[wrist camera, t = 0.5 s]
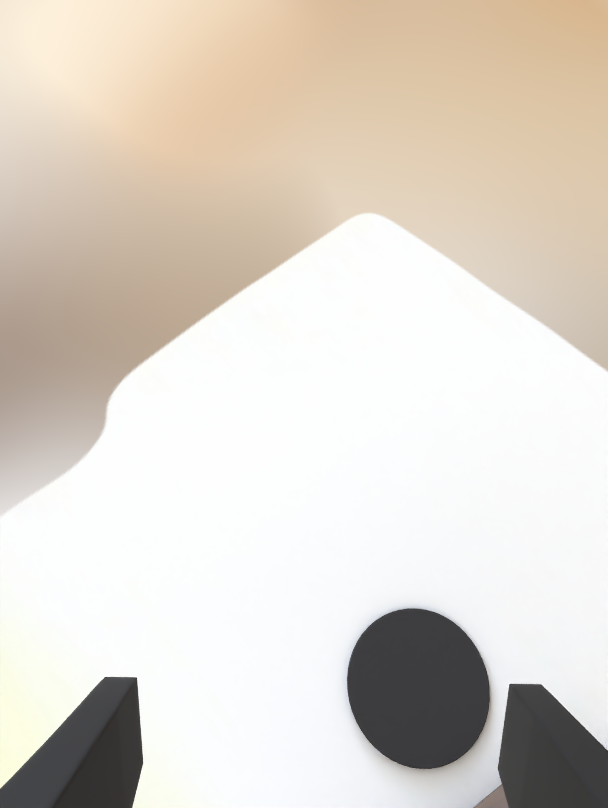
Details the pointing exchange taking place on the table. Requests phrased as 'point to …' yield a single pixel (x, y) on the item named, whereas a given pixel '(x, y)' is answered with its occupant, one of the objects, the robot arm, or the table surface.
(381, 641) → the coaster
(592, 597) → the table surface
